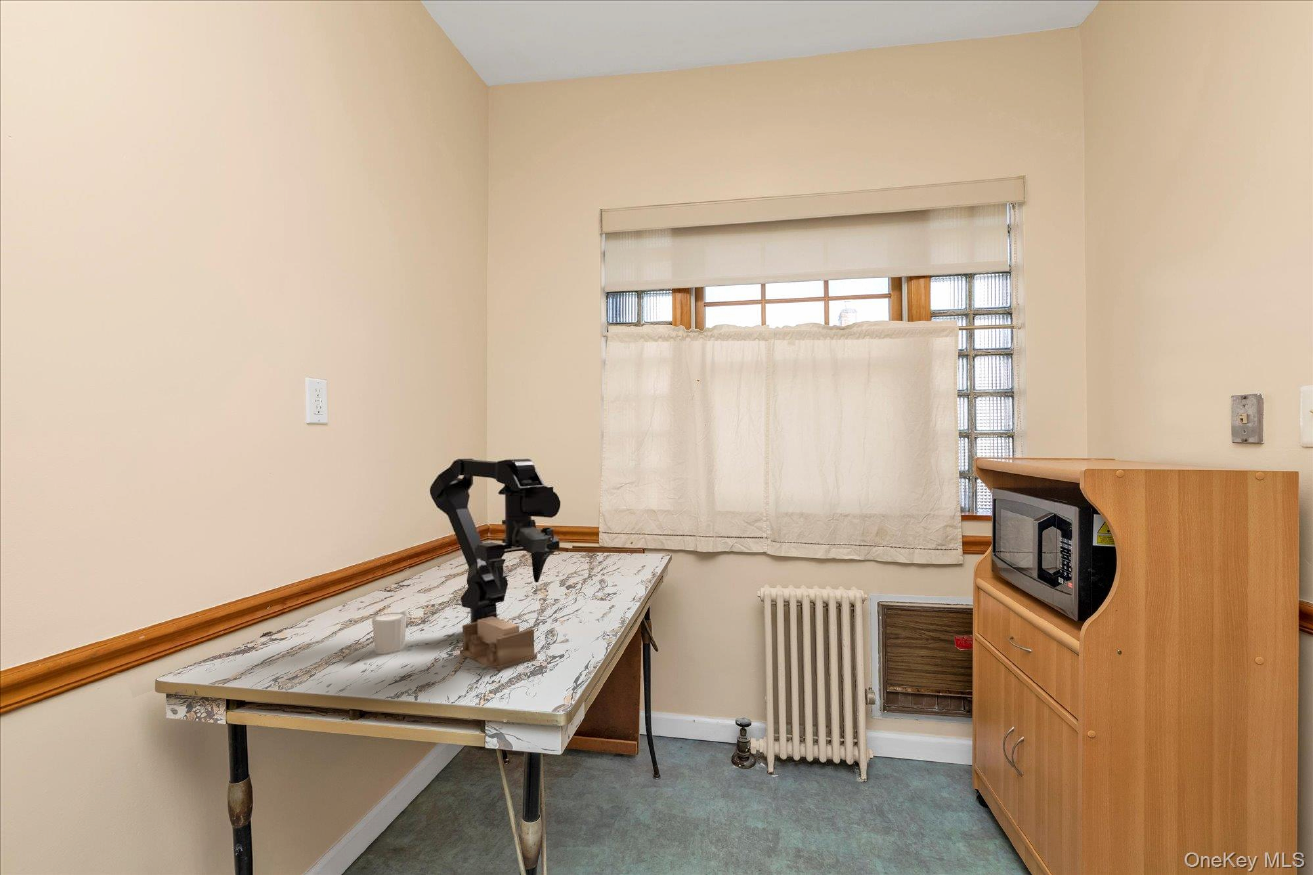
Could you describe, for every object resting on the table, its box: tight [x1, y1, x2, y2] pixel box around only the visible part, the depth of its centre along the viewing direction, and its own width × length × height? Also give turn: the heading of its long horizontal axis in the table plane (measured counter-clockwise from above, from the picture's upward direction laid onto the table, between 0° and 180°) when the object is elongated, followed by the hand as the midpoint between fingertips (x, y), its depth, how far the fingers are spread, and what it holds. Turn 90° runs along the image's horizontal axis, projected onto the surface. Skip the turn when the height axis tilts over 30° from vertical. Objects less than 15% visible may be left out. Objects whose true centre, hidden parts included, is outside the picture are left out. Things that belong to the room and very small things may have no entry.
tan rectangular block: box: [478, 616, 520, 644], centre depth 123 cm, size 10×4×4 cm, turn 47°
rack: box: [459, 616, 538, 672], centre depth 123 cm, size 14×9×6 cm, turn 47°
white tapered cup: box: [371, 612, 408, 655], centre depth 128 cm, size 7×7×7 cm
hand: (519, 585), depth 133 cm, fingers open, 9 cm apart
